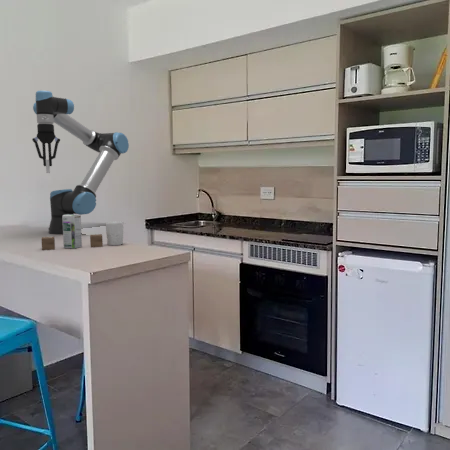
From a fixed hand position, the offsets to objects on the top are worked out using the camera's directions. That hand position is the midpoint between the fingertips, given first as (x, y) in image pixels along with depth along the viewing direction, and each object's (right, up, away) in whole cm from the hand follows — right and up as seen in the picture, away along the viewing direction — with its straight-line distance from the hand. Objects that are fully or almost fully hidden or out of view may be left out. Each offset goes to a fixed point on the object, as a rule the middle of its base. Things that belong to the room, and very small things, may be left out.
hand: (48, 173), depth 222 cm
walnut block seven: (+10, -36, -26) cm, 45 cm away
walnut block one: (+29, -35, -20) cm, 50 cm away
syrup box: (+20, -36, -23) cm, 47 cm away
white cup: (+37, -35, -15) cm, 53 cm away
